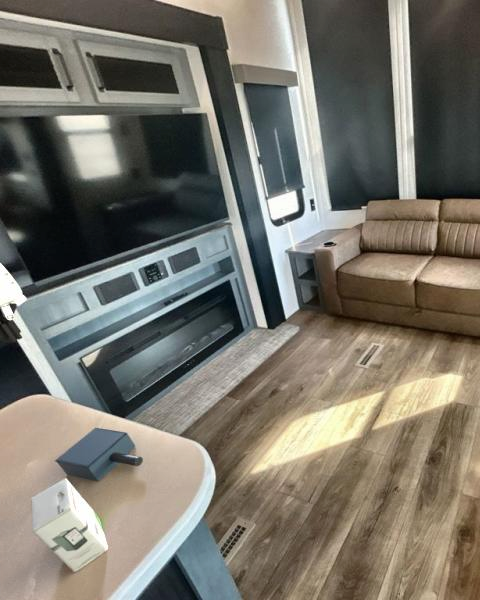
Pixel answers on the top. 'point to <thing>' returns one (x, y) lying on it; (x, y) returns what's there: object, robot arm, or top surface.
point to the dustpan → (98, 454)
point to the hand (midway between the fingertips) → (13, 339)
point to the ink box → (68, 525)
